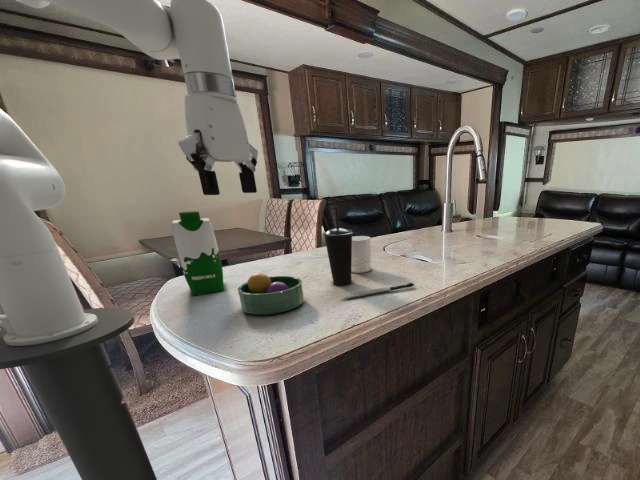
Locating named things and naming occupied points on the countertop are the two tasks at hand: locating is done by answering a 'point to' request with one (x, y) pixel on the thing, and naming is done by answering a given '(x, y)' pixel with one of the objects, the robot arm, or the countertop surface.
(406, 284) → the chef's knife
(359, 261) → the white cup
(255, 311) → the bowl
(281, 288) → the plum ball
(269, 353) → the countertop surface
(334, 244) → the drinking cup
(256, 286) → the ochre ball
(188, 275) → the milk carton
